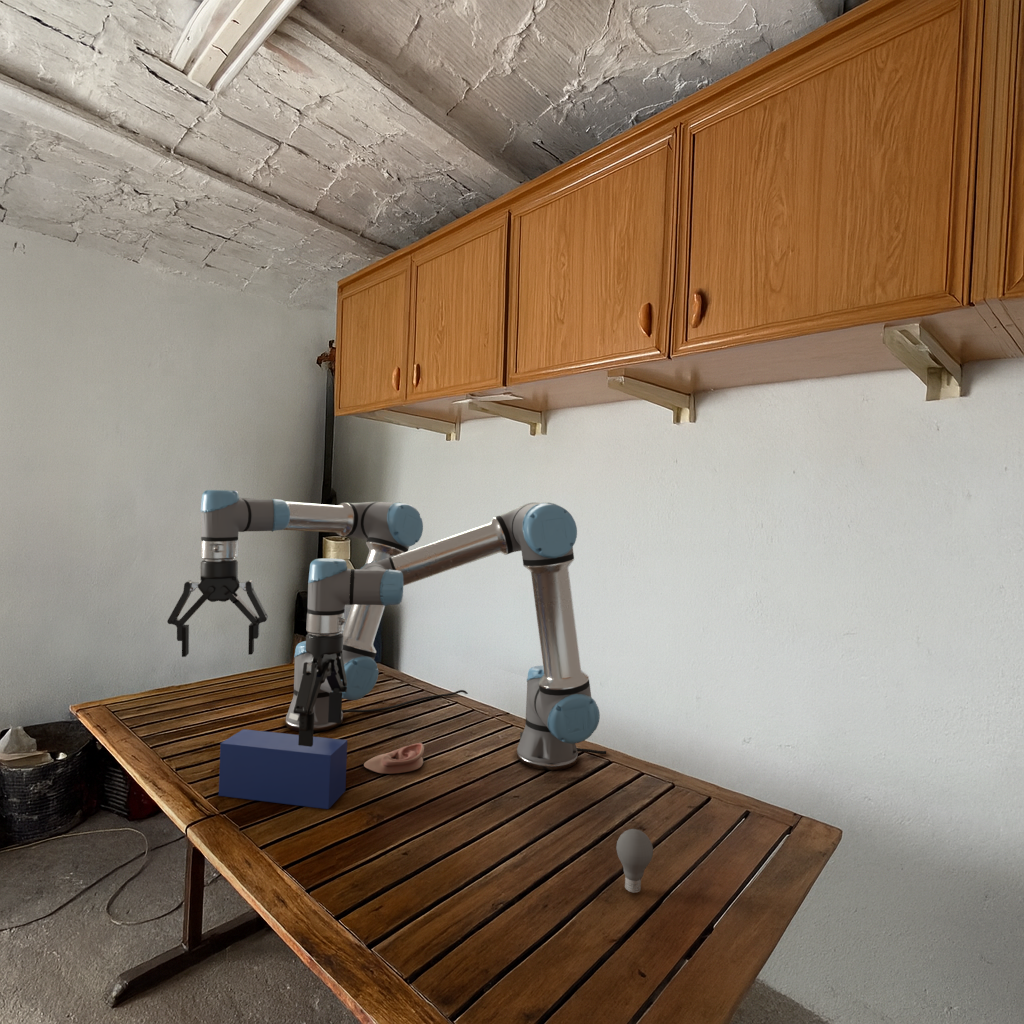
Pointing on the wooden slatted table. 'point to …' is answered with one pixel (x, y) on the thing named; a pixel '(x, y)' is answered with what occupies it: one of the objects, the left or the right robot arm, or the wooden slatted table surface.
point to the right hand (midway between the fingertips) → (320, 733)
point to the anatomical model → (397, 760)
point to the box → (282, 769)
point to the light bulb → (634, 857)
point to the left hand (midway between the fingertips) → (218, 654)
